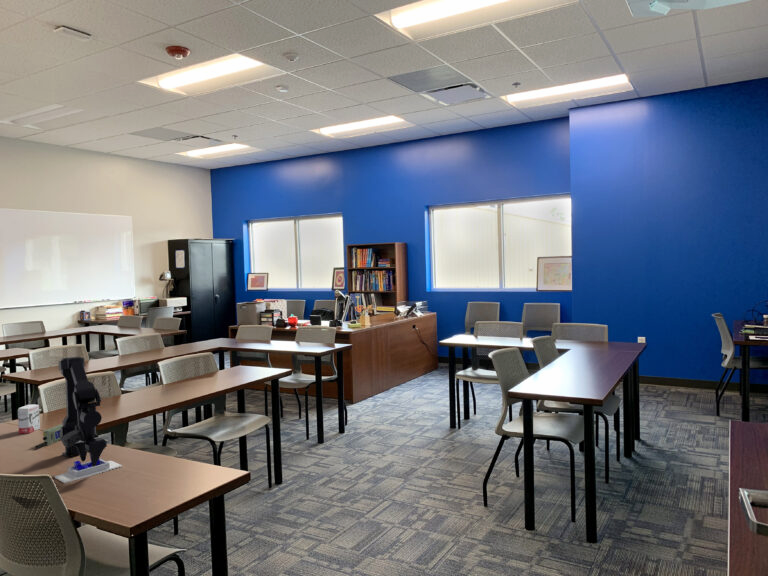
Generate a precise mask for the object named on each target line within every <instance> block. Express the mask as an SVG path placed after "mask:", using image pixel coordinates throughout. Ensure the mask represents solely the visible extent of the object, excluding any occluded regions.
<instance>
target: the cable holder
mask: <svg viewBox="0 0 768 576" xmlns="http://www.w3.org/2000/svg"><path fill="white" fill-rule="evenodd" d="M81 462H82V461H80V460H76V461H73V466H74V469H75V470H77V471H79V470H83V469H87V468H90V467H93V466H92V463H90V464H88V465H86V466H82V465H81V464H82V463H81ZM97 465H100V462H99V460H98V462H97V464H96V466H97Z"/></svg>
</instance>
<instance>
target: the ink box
mask: <svg viewBox="0 0 768 576" xmlns="http://www.w3.org/2000/svg"><path fill="white" fill-rule="evenodd" d="M17 419H18V420H17V421H18V423H17V424H18V434H20V435H21V434H23V433H24V434H30V433H34V432H35V431H38V430H40V429H41V425H40V405H39V404H26V405H24V406H21V407H18V409H17ZM24 434H23V435H24Z"/></svg>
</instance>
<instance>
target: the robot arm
mask: <svg viewBox="0 0 768 576" xmlns="http://www.w3.org/2000/svg"><path fill="white" fill-rule="evenodd" d="M57 365H58V370H59V371H60V374H61V375H62V377H63V378H64V379H65V402H66V404H65V405H66V415H65V417H64V418H63V420H62V423H61V424H62V427H61V430H60V441H61V442H62V445H63V446H64V450H65V451H64V452H62V453H61V455H63V456H65V457H67V458H72V457H75V456H79V458H80V460H81V461H80V462H85V461H86V459H87V455H88V453H89V458H90V461H91V463H92V466H93V467H94V466H96V464H97V462H98V460H99V459H100V458H101V456H102V453H103V452H104V450H105V449H106V447H108V441H107V440H106V439H104V438H102V437H99V434H98V433H97V428H96V427H99V425H100V423H101V422H102V414H101V413H100V412H99V411H98V410H97V409H96V408H97V407H100V406H101V402H102V399H101V395H100V392H99V391H98V389H97V388H96V387H95V385H94V382H91V381H89V378H88V375H87V373H86V369H85V367H86V361H85V357H83V356H82V357H81V356H70V357H62V358H61V360H59V361H58V364H57Z"/></svg>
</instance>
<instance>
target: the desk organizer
mask: <svg viewBox="0 0 768 576" xmlns="http://www.w3.org/2000/svg"><path fill="white" fill-rule="evenodd" d="M99 462H100V465H97V466H94V467H90V468H87V469H83V470H79V471H77V470H75V469H74V465H71V466H68V467H67V472H65V473H61V474H58V475H54V479H56V480H58V481H60V482H62V483H63V484H68V483H71V482H74V481H78V480H82V479H85V478H88V477H92V476H96V475H98V474H99V475H100V474H103V473H106V472H110V471H113V470H116V468H117V469H119V467H120V468H122V467H123V465H122V464H120V463H118V462H116V461H113V460H104V459H102V458H99ZM90 463H91V460H90V461H87V462H83V463H81V465H82V466H86V465H88V464H90ZM112 469H113V470H112ZM109 470H110V471H109ZM102 472H103V473H102Z"/></svg>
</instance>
